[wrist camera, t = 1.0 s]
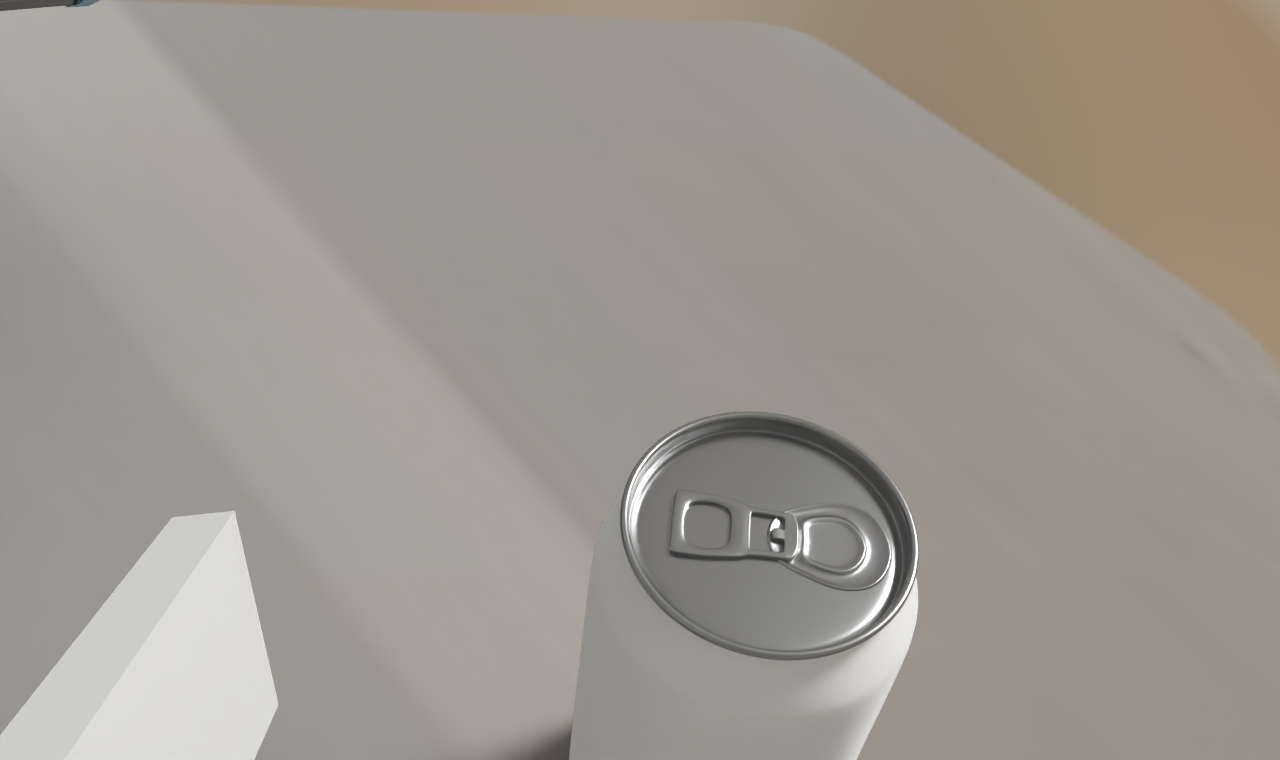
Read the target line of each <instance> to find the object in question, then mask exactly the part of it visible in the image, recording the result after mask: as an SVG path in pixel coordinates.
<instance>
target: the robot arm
mask: <svg viewBox="0 0 1280 760" xmlns="http://www.w3.org/2000/svg"><path fill="white" fill-rule="evenodd" d="M99 1H100V0H0V11H6V10H17V9H29V8H41V7H53V6H66V7H79V6H89V5H91V4H94V3H96V2H99ZM277 707H278V701H277V696H276V692H275V687H274V683H273V679H272V674H271V670H270V665H269V661H268V657H267V652H266V648H265V643H264V639H263V635H262V630H261V626H260V621H259V617H258V613H257V608H256V604H255V599H254V595H253V590H252V586H251V582H250V577H249V573H248V568H247V564H246V560H245V555H244V551H243V546H242V542H241V538H240V533H239V529H238V524H237V520H236V516H235V511H228V512H219V513H210V514H200V515H191V516H182V517H172V518H171V520H170V521H169V522H168V523H167V525H166V526H165V527H164V528H163V530H162V531H161V532H160V534H159V535H158V536H157V537H156V539H155V540H154V541H153V542H152V544H151V545H150V546H149V547H148V549H147V550H146V551H145V553H144V554H143V555H142V556H141V558H140V559H139V560H138V561H137V563H136V564H135V565H134V566H133V568H132V569H131V570H130V571H129V573H128V574H127V575H126V577H125V578H124V579H123V580H122V582H121V583H120V584H119V585H118V587H117V588H116V589H115V590H114V592H113V593H112V594H111V596H110V597H109V598H108V599H107V601H106V602H105V603H104V604H103V606H102V607H101V608H100V609H99V611H98V612H97V613H96V615H95V616H94V617H93V618H92V620H91V621H90V622H89V623H88V625H87V626H86V627H85V628H84V630H83V631H82V632H81V634H80V635H79V636H78V637H77V639H76V640H75V641H74V642H73V644H72V645H71V646H70V647H69V649H68V650H67V651H66V653H65V654H64V655H63V656H62V658H61V659H60V660H59V661H58V663H57V664H56V665H55V666H54V668H53V669H52V670H51V671H50V673H49V674H48V675H47V677H46V678H45V679H44V680H43V682H42V683H41V684H40V685H39V687H38V688H37V689H36V690H35V692H34V693H33V694H32V696H31V697H30V698H29V699H28V701H27V702H26V703H25V704H24V706H23V707H22V708H21V709H20V711H19V712H18V713H17V715H16V716H15V717H14V718H13V720H12V721H11V722H10V723H9V725H8V726H7V727H6V728H5V730H4V731H3V732H2V734H1V735H0V760H254V759H255V757H256V755H257V752H258V750H259V748H260V746H261V743H262V741H263V739H264V736H265V734H266V732H267V730H268V727H269V725H270V723H271V721H272V718H273V716H274V714H275V711H276V709H277Z"/></svg>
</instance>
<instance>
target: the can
mask: <svg viewBox="0 0 1280 760" xmlns="http://www.w3.org/2000/svg"><path fill="white" fill-rule="evenodd" d="M918 560H919V545H918V536H917V531H916V527H915V523H914V520H913V517H912V514H911V511H910V509H909V507H908V504H907V502H906V500H905V498H904V497H903V495H902V493H901V492H900V490H899V488H898V487H897V485H896V484H895V483H894V481H893V480H892V479H891V477H890V476H889V475H888V474H887V473H886V471H885V470H884V469H883V468H882V467H881V466H880V465H879V464H878V463H877V462H876V461H875V460H874V459H873V458H871V457H870V456H869V455H868V454H867V453H865V452H864V451H863V450H862V449H860V448H859V447H858V446H856V445H855V444H853V443H852V442H850V441H849V440H847V439H845V438H844V437H842V436H840V435H838V434H836V433H834V432H833V431H830V430H828V429H826V428H824V427H822V426H819V425H817V424H814V423H811V422H808V421H805V420H802V419H799V418H795V417H791V416H786V415H781V414H775V413H767V412H731V413H723V414H718V415H713V416H708V417H705V418H701V419H698V420H695V421H692V422H690V423H687V424H685V425H683V426H681V427H679V428H677V429H675V430H673V431H672V432H670V433H668V434H667V435H665V436H664V437H663V438H661V439H660V440H659V441H657V442H656V443H655V444H654V445H653V446H652V447H651V448H649V450H648V451H647V452H646V453H645V454H644V455H643V456H642V457H641V459H640V460H639V461H638V463H637V464H636V466H635V467H634V469H633V471H632V472H631V474H630V476H629V478H628V481H627V483H626V486H625V488H624V490H623V491H622V492H621V493H620V494H619V496H618V497H617V498H616V500H615V501H614V502H613V504H612V505H611V507H610V509H609V510H608V512H607V514H606V516H605V518H604V520H603V523H602V525H601V528H600V531H599V534H598V537H597V541H596V544H595V548H594V554H593V559H592V565H591V571H590V579H589V587H588V595H587V602H586V611H585V619H584V628H583V636H582V644H581V653H580V662H579V671H578V679H577V688H576V697H575V706H574V715H573V724H572V734H571V743H570V753H569V760H856V759H857V757H858V755H859V753H860V751H861V749H862V747H863V745H864V742H865V740H866V738H867V736H868V734H869V732H870V730H871V728H872V726H873V724H874V722H875V720H876V718H877V716H878V714H879V712H880V710H881V707H882V705H883V703H884V701H885V699H886V697H887V695H888V693H889V691H890V689H891V687H892V685H893V682H894V680H895V678H896V676H897V674H898V672H899V670H900V667H901V665H902V663H903V660H904V658H905V656H906V653H907V651H908V648H909V646H910V643H911V640H912V636H913V632H914V628H915V624H916V619H917V612H918V589H917V580H916V574H917V569H918Z"/></svg>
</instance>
